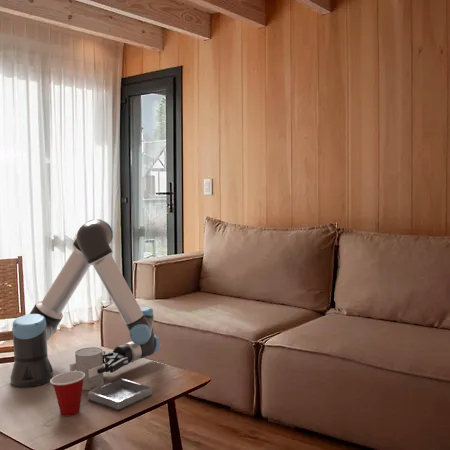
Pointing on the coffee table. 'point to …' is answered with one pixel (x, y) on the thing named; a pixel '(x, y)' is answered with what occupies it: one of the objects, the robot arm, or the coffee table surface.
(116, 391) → the grey square tray
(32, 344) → the robot arm
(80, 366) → the speckled white cylinder
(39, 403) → the coffee table surface
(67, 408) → the plastic cup
